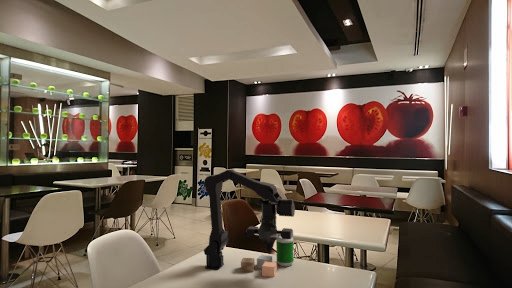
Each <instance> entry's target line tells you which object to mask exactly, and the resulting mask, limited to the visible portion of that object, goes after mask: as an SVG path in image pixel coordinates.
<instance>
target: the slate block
mask: <svg viewBox="0 0 512 288" xmlns="http://www.w3.org/2000/svg"><path fill="white" fill-rule="evenodd" d="M265 261H266V262H273V255H266V254H261V255H259V256H258V257H257V258H256V268H259V269H262V265H263V264H264V262H265Z"/></svg>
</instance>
